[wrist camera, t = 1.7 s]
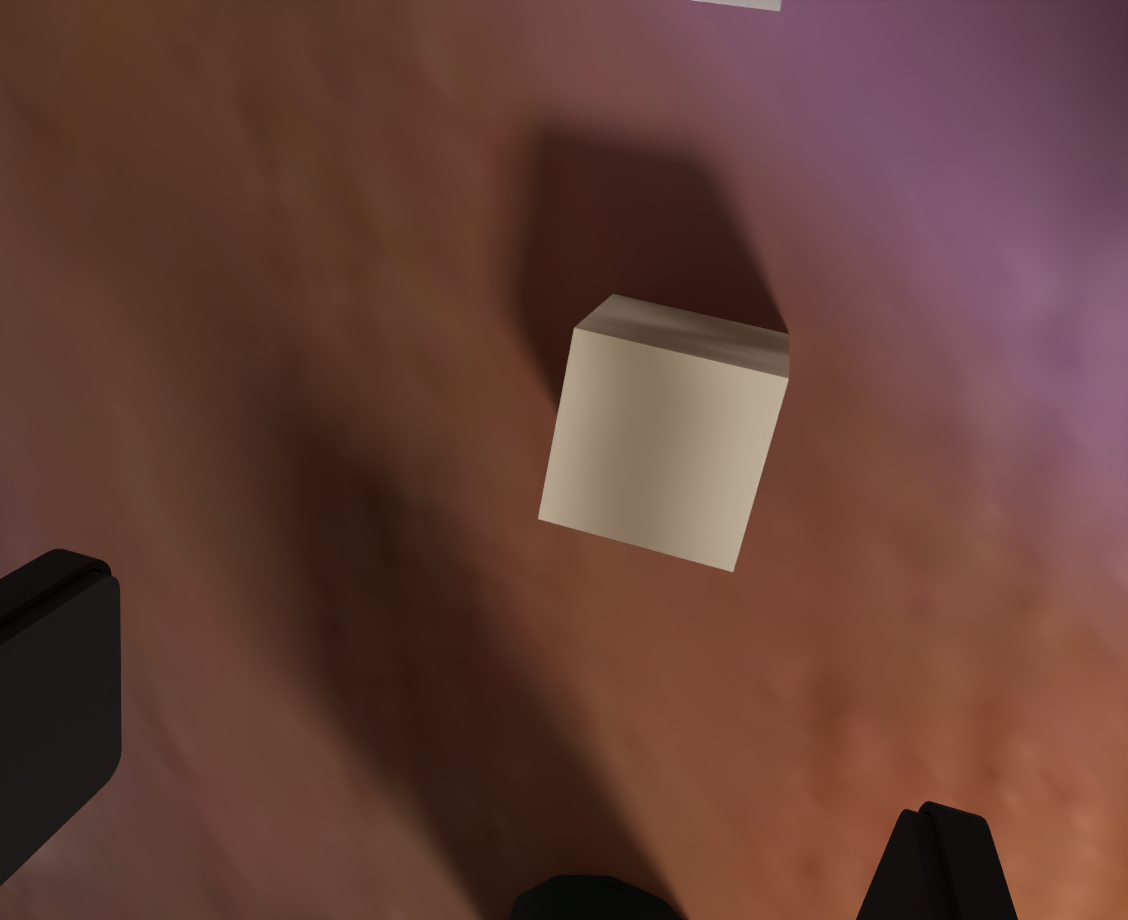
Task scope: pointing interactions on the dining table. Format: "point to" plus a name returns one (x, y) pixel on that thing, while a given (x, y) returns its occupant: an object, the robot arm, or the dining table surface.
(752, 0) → the base block
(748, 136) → the dining table surface
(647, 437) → the maple cube
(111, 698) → the robot arm
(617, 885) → the wine bottle
